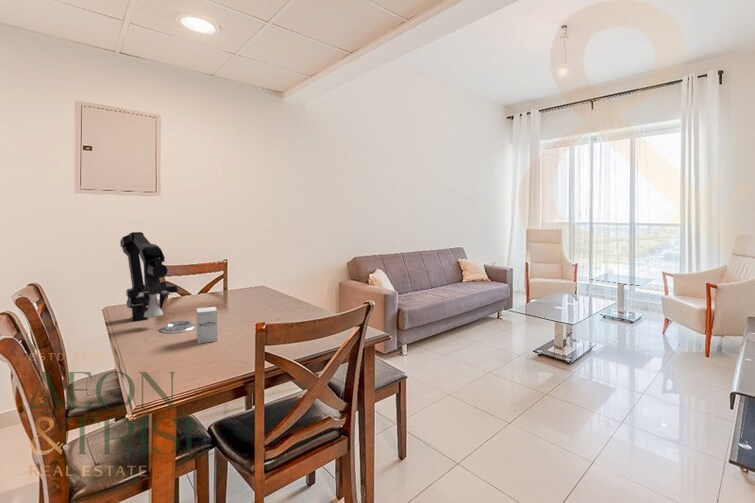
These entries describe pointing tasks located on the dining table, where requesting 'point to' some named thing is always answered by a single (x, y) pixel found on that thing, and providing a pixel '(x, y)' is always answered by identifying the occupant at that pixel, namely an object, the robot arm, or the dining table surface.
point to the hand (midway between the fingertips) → (153, 310)
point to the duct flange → (178, 326)
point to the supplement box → (206, 324)
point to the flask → (153, 307)
